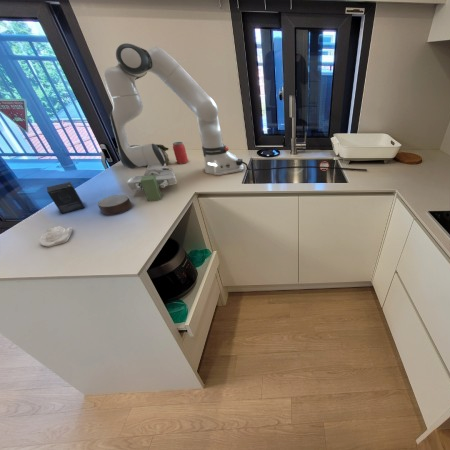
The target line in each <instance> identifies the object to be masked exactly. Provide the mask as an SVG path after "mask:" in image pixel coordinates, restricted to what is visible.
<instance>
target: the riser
mask: <svg viewBox="0 0 450 450" xmlns="http://www.w3.org/2000/svg"><path fill="white" fill-rule="evenodd" d="M97 206H98V208H99V210H100V212H101V213H102V215H105V216H115V215H119V214H122V213H126V212H128V211H129V210H130V209H131V208H132V207H133V204H132V201H131V200H130V198H129V196H128V195H127V194H113V195H110V196H107V197H104V198H102V199H101V200H99V201H98V202H97Z"/></svg>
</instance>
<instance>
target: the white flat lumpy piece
mask: <svg viewBox="0 0 450 450" xmlns="http://www.w3.org/2000/svg"><path fill="white" fill-rule="evenodd" d="M72 232H73V227H71V226H70V227H67V228H66V229H65V228H64V227H63V226H61V225H56V226H54V227H49V228H47V229H46V231H45V232H44V234H42V235H41V236H39V240H38V243H39V244H40V245H41V246H44V247H47V248H50V247H54V246H56V245H61V244H65V243H66V242H68V241H69V238H70V237H71V235H72Z"/></svg>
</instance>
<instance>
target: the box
mask: <svg viewBox="0 0 450 450" xmlns="http://www.w3.org/2000/svg"><path fill="white" fill-rule="evenodd" d="M46 190H47V191H46V192H47V194H48V195H49V197H50V199H51V200H52V201H53V203H54V204H55V206H56V207H57V209H58V211H59V212H60V214H66V213H70V212H74V211H77V210H81V209H85V206H84V202H83V201H82V199H81V197H80V195H79V194H78V192H77V190H76V188H75V187H74V185H73V183H72V182H71V181H69V182H64V183H59V184H55V185H50V186H47V187H46Z"/></svg>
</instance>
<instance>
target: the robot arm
mask: <svg viewBox="0 0 450 450" xmlns="http://www.w3.org/2000/svg"><path fill="white" fill-rule="evenodd" d="M115 58H116V61H117V64H116V65H115V66H110V67H107V68H105V70H104V71H103V79H104V82H105V85H106V89H107V91H108V94H109V96H110V99H111V102H112V110H111V111H110V112H109V119H110V123H111V128H112V132H113V135H114V138H115V141H116V146H117V148H118V150H119V152H118V156H119V160H120V162H121V164H122V165H123V166H124V167H126V168H129V169H130V170H131V169H132V170H133V169H138V168H140V167H146V166H147V168H146V169H145V171H144V175H138V176H133V177H130V178H129V179H128V180H127V183H126V184H127V186H128V189H130V190H137V192H140V191H142V190H143V189H144V188H143V186H142V183H141V179H142V177H143V176H152V175H155V177H156V180H157V183H158V186H159V187H160V189H164V188H166V187H167V186H171V185H172V186H173V185H176V184H178V181H177V178H176V175H175V172H174V171H173V169H172V168H168V166H167V164H165V161H166V160H165V156H164V153H163V151H162V150H161V148H159V147H158V146H157V145H155V143H147V144H142V145H141V146H135V147H130V146H131V145H130V144H129V141H128V137H127V133H126V129H125V128H126V126H127V124H128V123H130V122H131V121H132V120H134V119H136V118H138V117H139V116H140V115H141V114H142V112H143V110H144V105H143V102H142V98H141V96H140V93H139V90H138V89H137V85H136V80H138V79H141V78H143V77H145V76H146V75H147V73H148V72H150V73H152V74H154V75H156V77H158V78H159V80H161V81H162V82H163V83H164V84H165V85H166V86H167V87H168V88H169V89H170V90H171V92H173V93H175V95H176V96H177V97H178V98H179V99H180V100H181V101H182V102H183V104H185V105H186V106H187V108H189V109H190V110H191V112H193V114H195V116H196V121H197V125H198V126H197V127H198V131H199V137H200V140H201V151H202V155H203V157H204V172H205V173H206V174H211V175H215V176H223V175H228V174H233V173H239V172H244V169H245V168H246V169H247V170H248V171H254V172H255V171H268V170H281V169H282V170H283V169H333V170H348V171H368V169H367V168H353V167H337V166H319V165H302V166H301V165H300V166H299V165H298V166H297V165H296V166H278V167H264V168H255V169H251V168H249V165H248V163H246V162H245V161H244V160H243V158H238V156H237V155H236V154H235V153H232V152H230V151H229V147H228V146H227V144H224V141H223V136H222V130H221V124H220V120H219V115H218V114H219V109H218V105H217V103H216V102H215V100H214V98H212V97H211V96H210V95H209V94H208V93H207V92H206V91H205V90H204V89H203V88H202V87H201V86H200V85H199V83H198V82H197V81H196V80H195V79H194V78H193V77H192V76H191V75H190V74H189V73H188V71H186V70H185V68H184V67H183V66H182V65H180V63H179V62H178V61H177V60H176V59H175V58H174V57H172V55H170V54H169V53H168V52H167V51H165V50H164V49H163V48H161V47H159V46H153V47H150V48H149V49H148V50H146V49H144V48H143V47H140V46H138V45H135V44H132V43H129V42H128V43H126V42H125V43H121V44H120V45H118V47H117V48H116V50H115ZM244 165H245V167H244Z"/></svg>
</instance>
